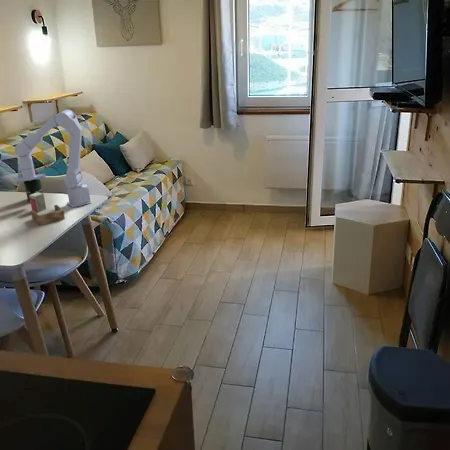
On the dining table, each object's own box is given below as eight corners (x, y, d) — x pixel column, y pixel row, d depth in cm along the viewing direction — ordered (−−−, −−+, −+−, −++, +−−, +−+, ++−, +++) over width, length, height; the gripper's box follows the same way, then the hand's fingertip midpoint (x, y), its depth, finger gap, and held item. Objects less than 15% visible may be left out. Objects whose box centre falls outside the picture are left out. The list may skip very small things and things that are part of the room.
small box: (40, 207, 229) (37, 191, 226) (46, 208, 226) (43, 193, 223) (31, 210, 225) (28, 194, 222) (37, 212, 222) (34, 196, 219)
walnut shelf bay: (58, 213, 220) (56, 204, 219) (64, 218, 213) (63, 210, 211) (32, 219, 214) (30, 210, 213) (38, 225, 207) (36, 216, 205)
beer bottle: (24, 200, 240) (14, 153, 231) (37, 195, 246) (28, 149, 237) (33, 202, 236) (23, 154, 227) (47, 197, 242) (38, 151, 233)
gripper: (40, 163, 231) (45, 190, 236) (9, 169, 223) (15, 196, 229) (44, 166, 225) (50, 193, 231) (12, 172, 218) (18, 200, 223)
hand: (32, 195), depth 229 cm, fingers closed
